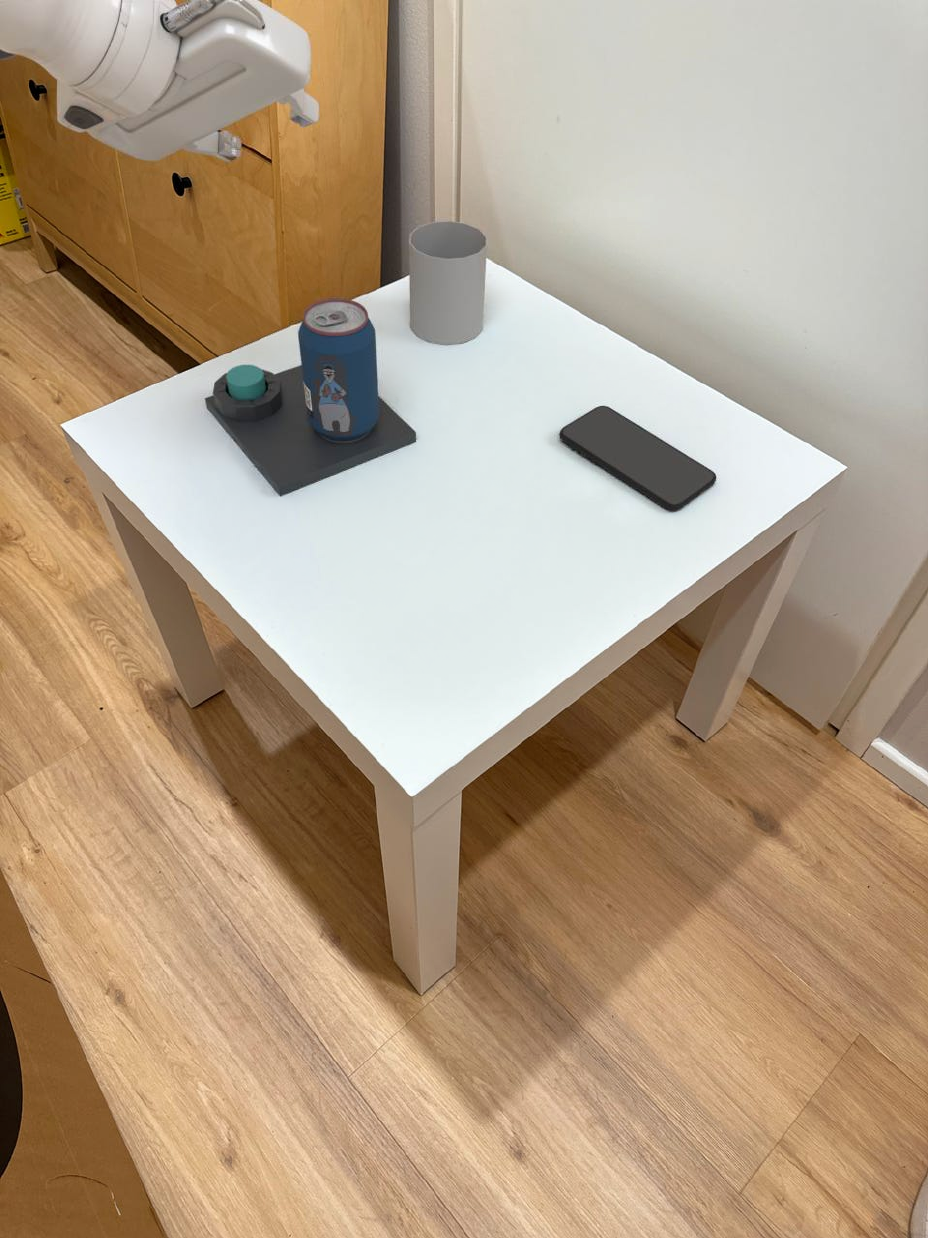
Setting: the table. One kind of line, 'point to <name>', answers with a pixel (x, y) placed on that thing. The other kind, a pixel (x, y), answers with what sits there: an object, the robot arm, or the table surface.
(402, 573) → the table surface
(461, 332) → the cup
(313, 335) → the soda can
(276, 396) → the scale
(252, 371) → the tare button
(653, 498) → the smartphone
